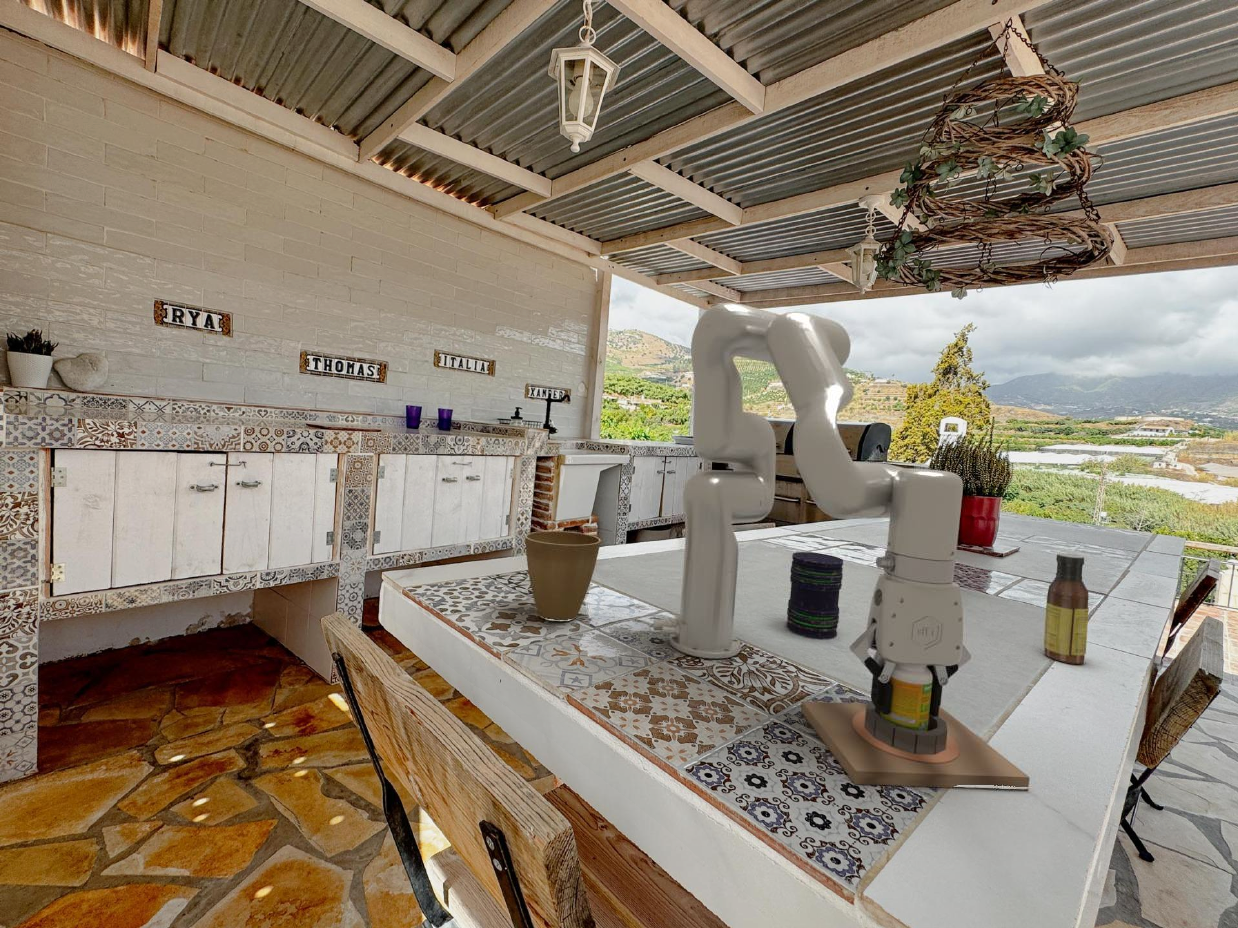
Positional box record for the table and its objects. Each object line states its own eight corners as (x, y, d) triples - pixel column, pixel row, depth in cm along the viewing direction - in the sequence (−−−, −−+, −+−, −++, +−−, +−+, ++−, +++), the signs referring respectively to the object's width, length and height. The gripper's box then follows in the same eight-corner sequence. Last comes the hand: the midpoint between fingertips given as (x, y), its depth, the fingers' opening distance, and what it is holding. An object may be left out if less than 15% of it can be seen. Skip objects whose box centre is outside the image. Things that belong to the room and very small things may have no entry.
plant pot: (593, 632, 103) (599, 547, 102) (513, 626, 103) (518, 541, 103) (597, 607, 118) (602, 532, 117) (527, 602, 118) (532, 527, 117)
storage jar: (847, 635, 111) (854, 561, 110) (817, 642, 105) (823, 565, 105) (806, 619, 119) (811, 550, 118) (775, 625, 114) (781, 553, 113)
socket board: (854, 783, 62) (858, 748, 61) (801, 711, 78) (803, 683, 77) (1028, 790, 63) (1031, 755, 62) (939, 717, 79) (942, 689, 78)
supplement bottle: (926, 741, 66) (934, 661, 66) (876, 725, 69) (884, 649, 69) (928, 722, 71) (936, 648, 70) (882, 709, 74) (889, 637, 73)
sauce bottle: (1078, 656, 107) (1089, 555, 106) (1089, 668, 101) (1101, 560, 100) (1036, 649, 110) (1047, 550, 109) (1045, 660, 104) (1057, 555, 103)
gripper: (866, 572, 65) (851, 723, 66) (1007, 580, 66) (991, 729, 67) (837, 557, 72) (825, 693, 73) (965, 565, 73) (951, 698, 74)
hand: (904, 708), depth 70 cm, fingers closed on supplement bottle, 5 cm apart
